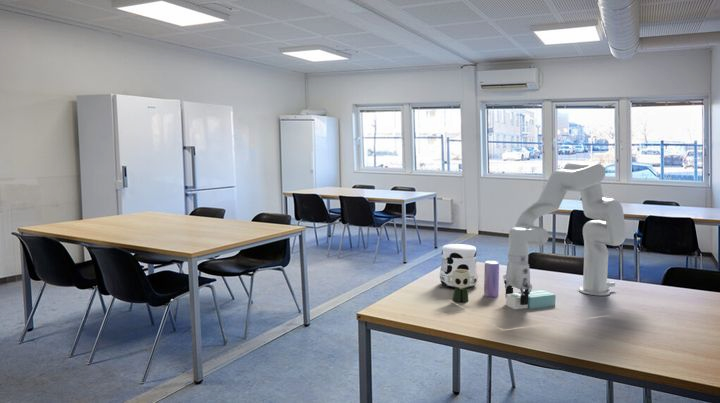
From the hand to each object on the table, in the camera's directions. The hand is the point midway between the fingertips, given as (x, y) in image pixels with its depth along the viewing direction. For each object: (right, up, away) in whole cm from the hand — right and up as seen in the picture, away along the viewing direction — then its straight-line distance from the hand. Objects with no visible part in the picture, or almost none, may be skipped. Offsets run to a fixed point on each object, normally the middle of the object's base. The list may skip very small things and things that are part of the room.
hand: (516, 301), depth 213 cm
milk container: (-17, +1, +33) cm, 37 cm away
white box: (0, -2, 0) cm, 2 cm away
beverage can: (-6, -1, +16) cm, 17 cm away
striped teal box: (+9, -2, +3) cm, 10 cm away
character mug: (-20, -2, +9) cm, 23 cm away
